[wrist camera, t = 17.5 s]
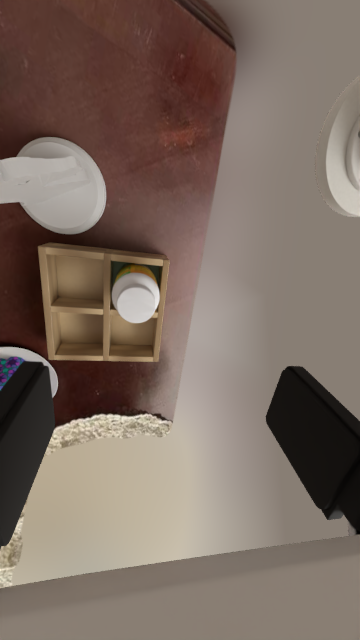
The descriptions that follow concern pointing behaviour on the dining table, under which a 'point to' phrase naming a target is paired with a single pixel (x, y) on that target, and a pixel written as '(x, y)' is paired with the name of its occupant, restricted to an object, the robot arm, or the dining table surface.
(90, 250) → the grid
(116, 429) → the dining table surface
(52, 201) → the chess piece
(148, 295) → the supplement bottle
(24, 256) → the dining table surface
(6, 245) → the dining table surface
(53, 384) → the pudding
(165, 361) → the dining table surface
